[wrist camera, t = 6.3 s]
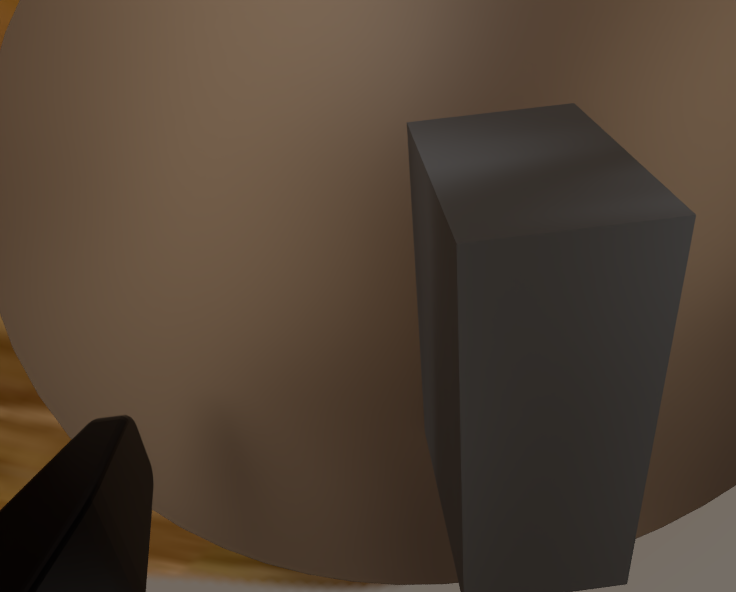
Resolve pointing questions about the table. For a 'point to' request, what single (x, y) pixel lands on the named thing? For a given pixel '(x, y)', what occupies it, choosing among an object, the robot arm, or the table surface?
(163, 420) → the walnut lid
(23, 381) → the table surface
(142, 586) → the robot arm
